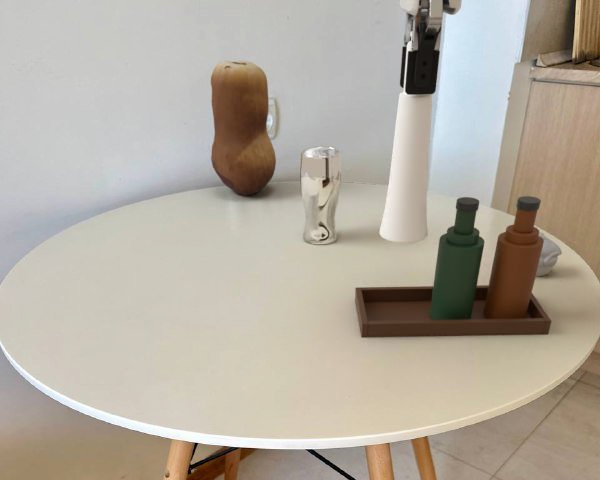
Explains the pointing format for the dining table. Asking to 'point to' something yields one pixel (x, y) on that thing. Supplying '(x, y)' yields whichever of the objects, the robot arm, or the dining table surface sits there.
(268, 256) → the dining table surface
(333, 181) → the beer glass
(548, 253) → the frog figurine
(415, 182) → the cosmetic bottle
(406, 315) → the tray
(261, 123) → the butternut squash
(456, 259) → the green bottle
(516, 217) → the amber bottle
